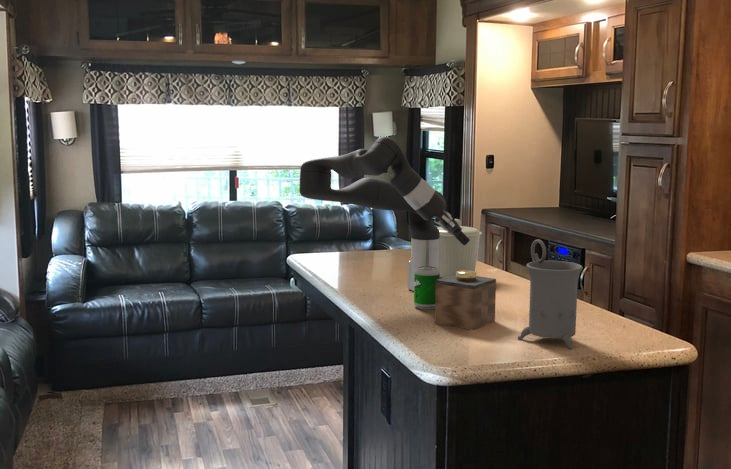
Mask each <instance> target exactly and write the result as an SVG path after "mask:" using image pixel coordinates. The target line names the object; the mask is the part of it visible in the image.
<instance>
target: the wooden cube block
mask: <svg viewBox="0 0 731 469" xmlns="http://www.w3.org/2000/svg"><path fill="white" fill-rule="evenodd" d="M496 292H497V278H495V277H485V276H479V275H476V281H458V280H456V274H455V275H452V276H448V277H445V278H440V279H437V280H436V291H435V309H434V323H435V324H439V325H444V326H449V327H456V328H461V329H466V330H471V331H474V330H477V329H479V328H481V327H485V326H486V325H489V324H491V323H494V322H495V321H496V295H497V293H496Z"/></svg>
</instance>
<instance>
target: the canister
mask: <svg viewBox="0 0 731 469" xmlns="http://www.w3.org/2000/svg"><path fill="white" fill-rule="evenodd" d="M454 219H455V221H456V222H457V224H458V225H459V226H460V228H461V229H462V232H463V233H464V234H465V235H466V236H467V237H468V238H469V240H470V241H469V242H468V243H467V244H466V245H463V244H461V243H460V242H459V241H458V240H457V239H456V238H455V237H454V236H453V235H451V233H448V231H445V230H444V229H443V228H442V227H441V226H438V227H437V226H436V228H438V229H439V232H440V242H439V271H440V279H441V278H445V277H448V276H452V275H455V274H456V271H461V270H469V271H475V272H476V266H477V261H478V260H477V259H478V253H479V244H480V238H481V235H483V232H482V231H479V229H478V228H475V227H472V226H464V225H462V221H461V220H460V219H459V218H454Z"/></svg>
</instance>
